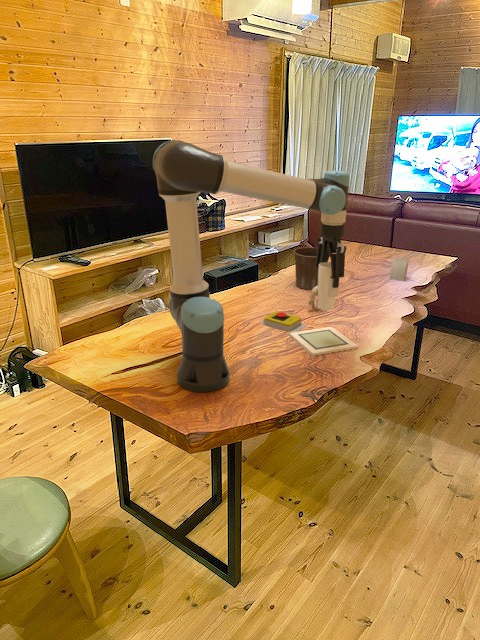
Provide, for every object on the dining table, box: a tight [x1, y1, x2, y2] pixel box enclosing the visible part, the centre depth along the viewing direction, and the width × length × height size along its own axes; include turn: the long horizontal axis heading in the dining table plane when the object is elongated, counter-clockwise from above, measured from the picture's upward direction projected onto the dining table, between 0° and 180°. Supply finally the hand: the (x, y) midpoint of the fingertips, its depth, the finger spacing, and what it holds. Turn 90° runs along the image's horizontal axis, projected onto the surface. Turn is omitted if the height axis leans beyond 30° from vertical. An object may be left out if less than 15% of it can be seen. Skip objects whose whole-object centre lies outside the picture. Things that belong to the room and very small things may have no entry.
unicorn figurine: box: [307, 286, 321, 312], centre depth 197 cm, size 7×20×13 cm, turn 156°
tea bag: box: [389, 257, 409, 282], centre depth 233 cm, size 4×7×10 cm, turn 57°
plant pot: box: [293, 246, 319, 291], centre depth 220 cm, size 16×16×16 cm
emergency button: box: [260, 310, 307, 333], centre depth 180 cm, size 9×4×15 cm
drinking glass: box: [317, 261, 336, 312], centre depth 159 cm, size 7×7×15 cm
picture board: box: [288, 326, 359, 357], centre depth 167 cm, size 17×17×1 cm
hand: (327, 292), depth 160 cm, fingers closed on drinking glass, 7 cm apart
